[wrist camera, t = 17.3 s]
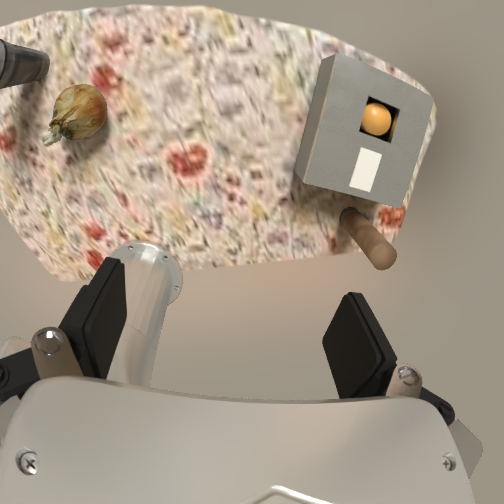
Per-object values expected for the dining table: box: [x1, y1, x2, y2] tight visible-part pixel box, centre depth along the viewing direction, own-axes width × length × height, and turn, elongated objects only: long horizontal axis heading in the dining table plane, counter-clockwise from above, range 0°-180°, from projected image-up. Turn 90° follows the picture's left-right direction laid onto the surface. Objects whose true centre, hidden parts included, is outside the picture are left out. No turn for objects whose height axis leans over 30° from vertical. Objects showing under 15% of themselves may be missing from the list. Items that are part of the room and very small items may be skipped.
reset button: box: [359, 103, 391, 135], centre depth 31 cm, size 4×4×4 cm
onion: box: [43, 84, 107, 146], centre depth 27 cm, size 8×8×8 cm
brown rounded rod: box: [340, 207, 397, 270], centre depth 36 cm, size 3×3×12 cm
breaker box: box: [294, 53, 434, 209], centre depth 32 cm, size 16×14×6 cm
